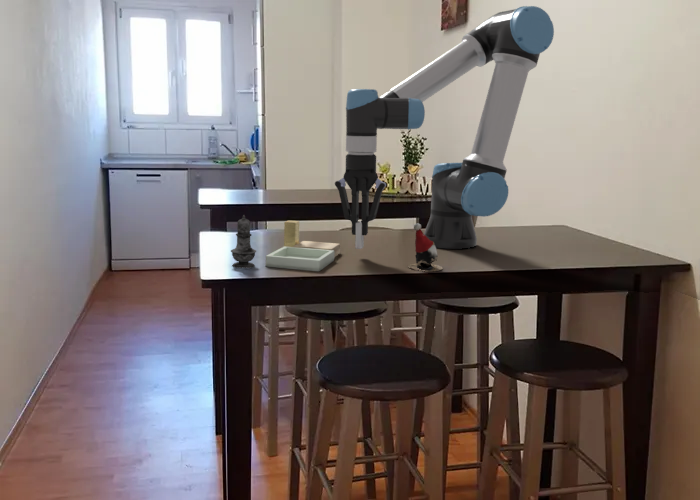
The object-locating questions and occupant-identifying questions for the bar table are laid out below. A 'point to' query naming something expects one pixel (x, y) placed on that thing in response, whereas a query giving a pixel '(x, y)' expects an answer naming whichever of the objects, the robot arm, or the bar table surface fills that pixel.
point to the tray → (300, 258)
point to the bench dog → (291, 233)
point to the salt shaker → (243, 245)
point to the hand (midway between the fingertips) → (359, 247)
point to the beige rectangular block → (320, 246)
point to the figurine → (424, 252)
